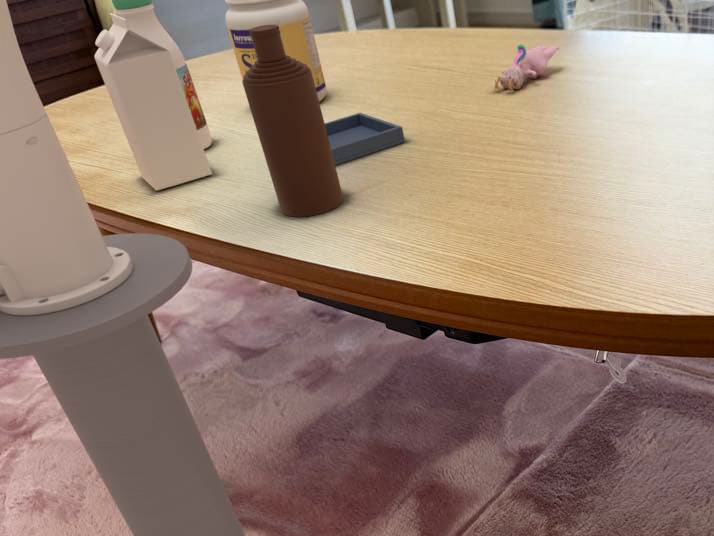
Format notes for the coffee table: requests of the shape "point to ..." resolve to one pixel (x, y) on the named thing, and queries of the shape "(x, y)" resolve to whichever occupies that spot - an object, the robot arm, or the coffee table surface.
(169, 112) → the milk carton
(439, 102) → the coffee table surface
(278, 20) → the supplement tub
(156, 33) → the milk bottle
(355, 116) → the tray
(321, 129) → the bottle
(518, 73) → the pink elongated figure
